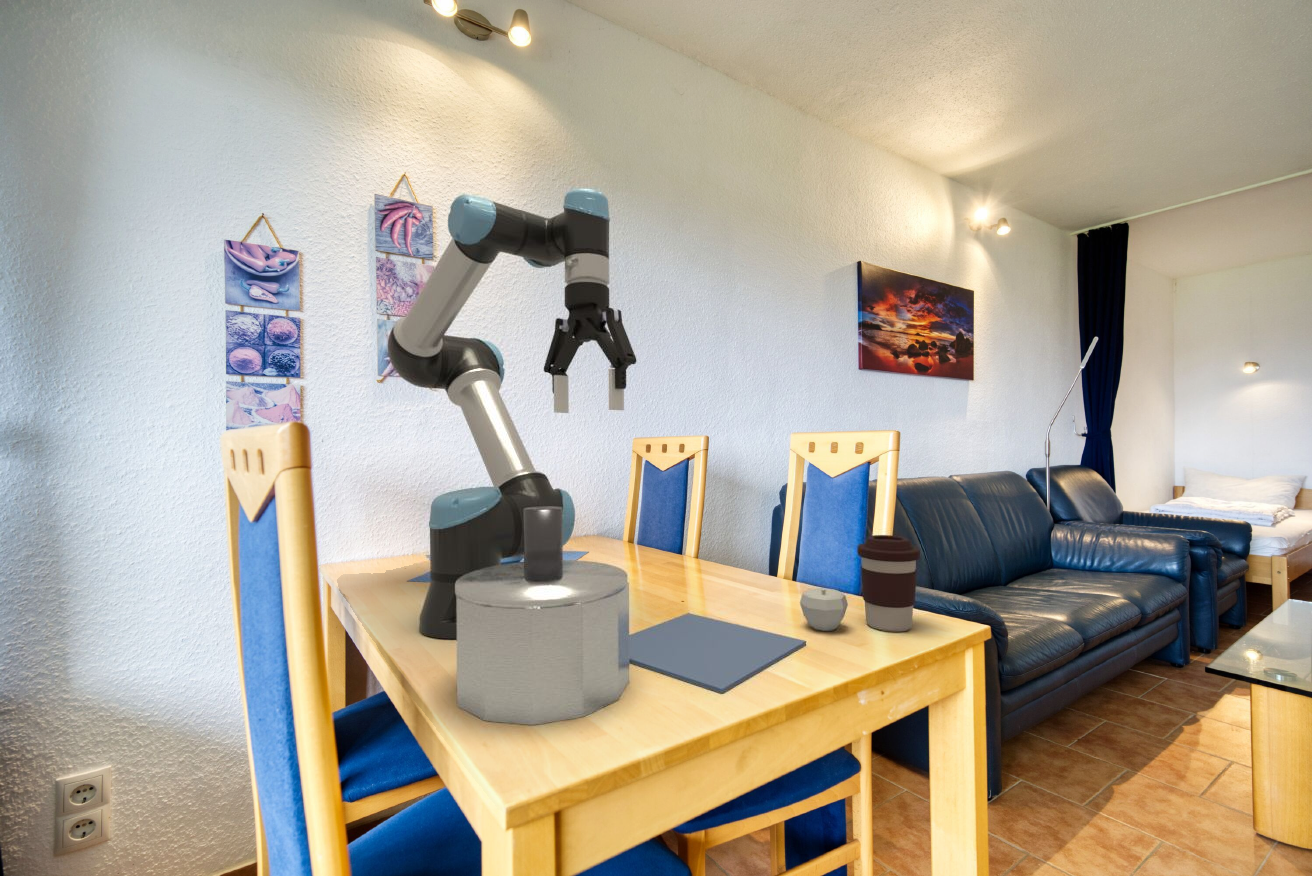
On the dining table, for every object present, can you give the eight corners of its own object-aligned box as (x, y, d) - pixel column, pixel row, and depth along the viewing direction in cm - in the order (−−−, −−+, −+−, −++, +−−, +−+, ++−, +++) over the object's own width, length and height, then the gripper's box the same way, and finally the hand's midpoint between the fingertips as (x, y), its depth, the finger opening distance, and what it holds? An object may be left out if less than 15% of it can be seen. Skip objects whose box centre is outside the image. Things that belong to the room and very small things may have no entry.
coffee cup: (927, 637, 95) (926, 543, 95) (862, 633, 97) (861, 542, 97) (913, 618, 105) (912, 534, 105) (854, 615, 107) (853, 532, 107)
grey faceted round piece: (852, 637, 95) (851, 596, 95) (801, 634, 97) (801, 594, 97) (844, 621, 103) (844, 584, 103) (798, 619, 104) (797, 582, 104)
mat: (595, 651, 89) (595, 647, 89) (688, 616, 107) (688, 612, 107) (722, 693, 74) (722, 689, 74) (806, 644, 92) (806, 640, 92)
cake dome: (422, 688, 76) (421, 510, 76) (555, 643, 93) (554, 496, 93) (527, 745, 62) (526, 526, 62) (662, 679, 79) (661, 506, 79)
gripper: (523, 293, 105) (524, 413, 105) (625, 266, 89) (625, 407, 89) (556, 301, 111) (556, 414, 111) (657, 276, 95) (658, 409, 95)
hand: (587, 411), depth 100 cm, fingers open, 13 cm apart
